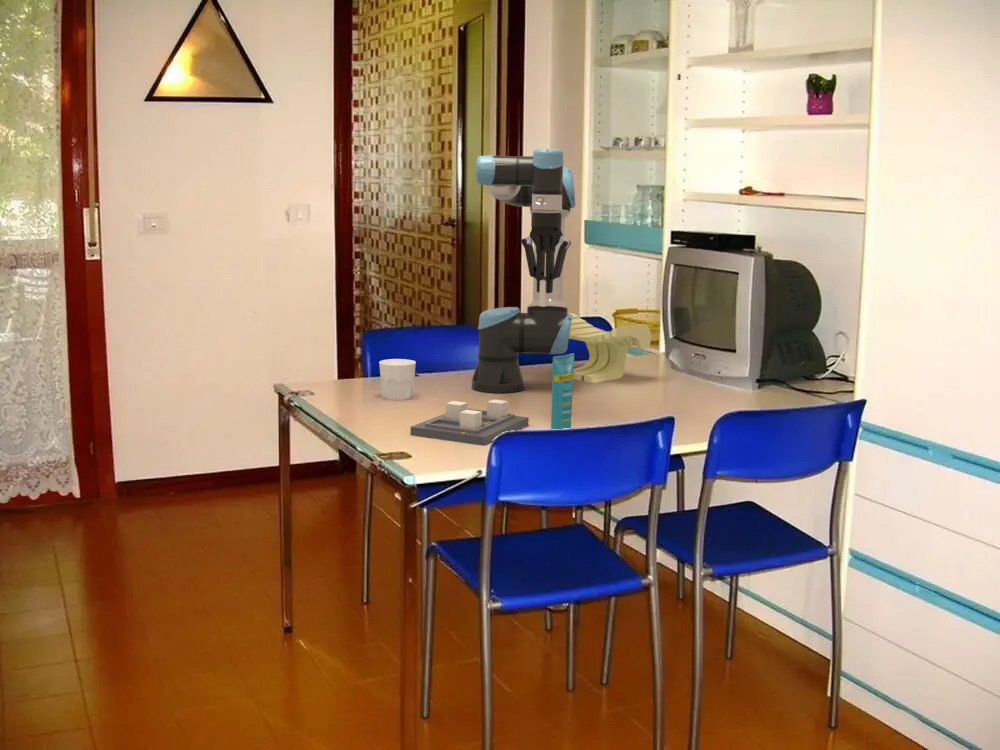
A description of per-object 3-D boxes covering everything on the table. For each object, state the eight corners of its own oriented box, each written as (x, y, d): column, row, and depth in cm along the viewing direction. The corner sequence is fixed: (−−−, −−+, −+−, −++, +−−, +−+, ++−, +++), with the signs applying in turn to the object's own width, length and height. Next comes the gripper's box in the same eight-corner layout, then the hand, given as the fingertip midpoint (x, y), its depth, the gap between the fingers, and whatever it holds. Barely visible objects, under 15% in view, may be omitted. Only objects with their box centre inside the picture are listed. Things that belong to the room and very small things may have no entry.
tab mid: (445, 419, 290) (446, 403, 289) (453, 416, 293) (453, 400, 292) (460, 421, 288) (460, 405, 287) (467, 418, 291) (467, 402, 290)
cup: (421, 398, 324) (422, 363, 323) (389, 402, 319) (389, 366, 317) (405, 392, 333) (405, 358, 331) (373, 395, 328) (373, 360, 326)
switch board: (410, 434, 283) (410, 423, 282) (458, 416, 304) (458, 405, 304) (484, 445, 274) (484, 433, 274) (528, 425, 295) (528, 414, 295)
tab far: (486, 417, 292) (487, 401, 292) (493, 414, 296) (493, 399, 295) (501, 419, 291) (501, 403, 290) (507, 416, 294) (508, 401, 293)
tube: (559, 435, 285) (561, 357, 281) (544, 432, 288) (546, 355, 284) (578, 430, 290) (580, 354, 287) (562, 427, 293) (564, 351, 290)
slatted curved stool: (648, 381, 356) (651, 322, 353) (614, 387, 345) (616, 327, 342) (575, 367, 378) (577, 312, 374) (541, 372, 367) (542, 316, 363)
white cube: (459, 428, 280) (459, 412, 279) (466, 425, 283) (467, 409, 283) (474, 430, 278) (474, 414, 278) (481, 427, 282) (481, 411, 281)
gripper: (516, 211, 292) (514, 305, 296) (564, 213, 286) (561, 309, 291) (529, 210, 299) (527, 302, 303) (576, 212, 293) (573, 306, 297)
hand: (544, 305), depth 297 cm, fingers closed
